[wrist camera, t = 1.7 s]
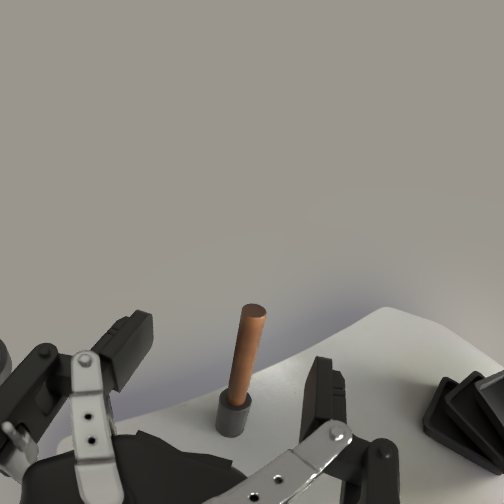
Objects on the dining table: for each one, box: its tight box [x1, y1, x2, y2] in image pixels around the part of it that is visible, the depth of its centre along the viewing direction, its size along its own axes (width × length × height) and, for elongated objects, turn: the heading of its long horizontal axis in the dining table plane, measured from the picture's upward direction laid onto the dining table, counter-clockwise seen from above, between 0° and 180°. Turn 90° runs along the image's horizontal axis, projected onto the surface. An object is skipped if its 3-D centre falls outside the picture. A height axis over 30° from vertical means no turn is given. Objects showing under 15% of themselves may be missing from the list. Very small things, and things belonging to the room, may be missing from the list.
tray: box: [423, 370, 504, 475], centre depth 29 cm, size 30×23×5 cm
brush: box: [216, 304, 266, 437], centre depth 28 cm, size 3×3×18 cm
